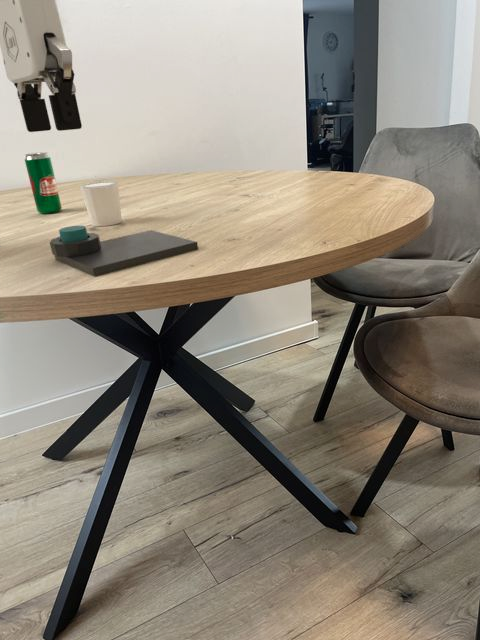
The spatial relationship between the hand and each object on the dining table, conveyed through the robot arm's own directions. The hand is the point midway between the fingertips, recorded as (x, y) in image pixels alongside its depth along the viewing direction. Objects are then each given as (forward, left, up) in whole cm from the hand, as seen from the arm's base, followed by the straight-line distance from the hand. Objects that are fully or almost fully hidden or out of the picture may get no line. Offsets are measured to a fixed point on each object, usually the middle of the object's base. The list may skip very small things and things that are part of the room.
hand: (54, 130), depth 68 cm
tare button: (-1, -2, -14) cm, 15 cm away
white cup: (+13, +19, -17) cm, 29 cm away
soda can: (+11, +42, -17) cm, 47 cm away
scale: (+4, -6, -17) cm, 18 cm away
